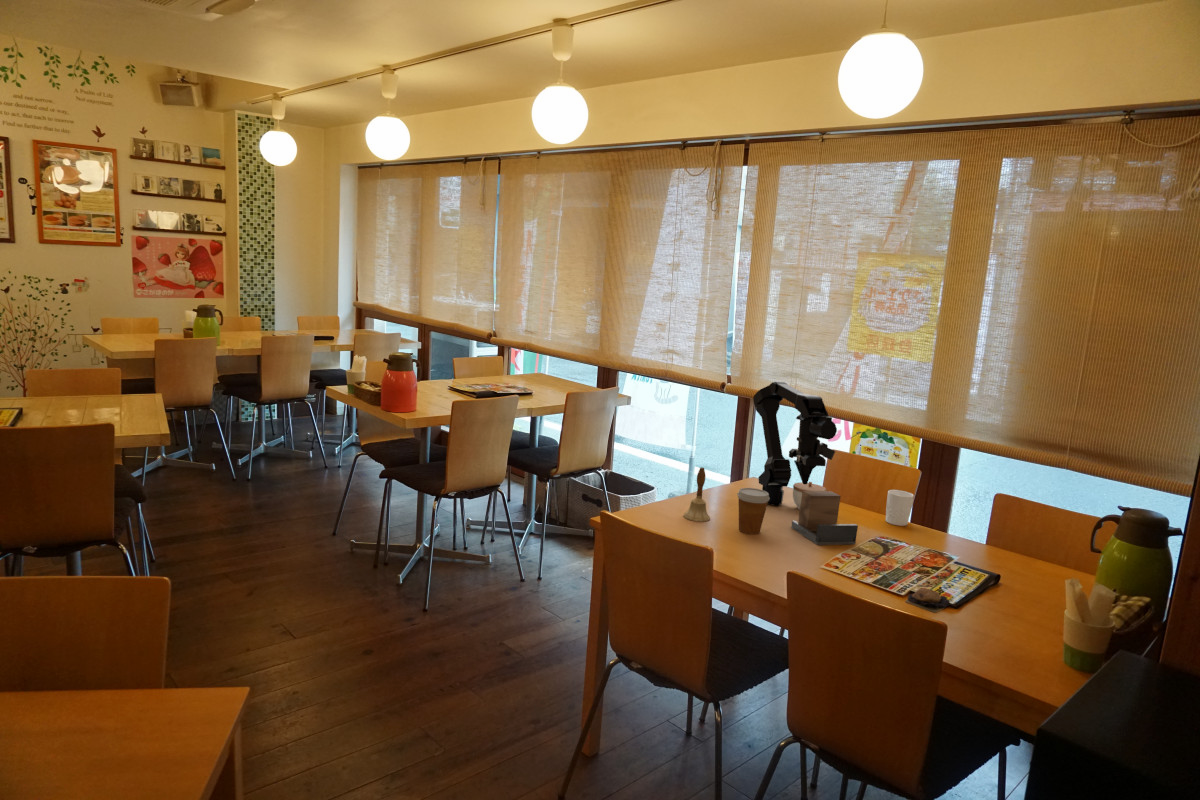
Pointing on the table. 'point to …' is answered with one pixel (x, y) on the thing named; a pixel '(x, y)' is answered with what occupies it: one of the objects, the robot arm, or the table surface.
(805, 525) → the walnut slider
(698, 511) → the hand bell
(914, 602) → the bread roll
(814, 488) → the lidded jar
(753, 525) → the disposable coffee cup
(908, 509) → the white cup
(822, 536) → the grey open tray
